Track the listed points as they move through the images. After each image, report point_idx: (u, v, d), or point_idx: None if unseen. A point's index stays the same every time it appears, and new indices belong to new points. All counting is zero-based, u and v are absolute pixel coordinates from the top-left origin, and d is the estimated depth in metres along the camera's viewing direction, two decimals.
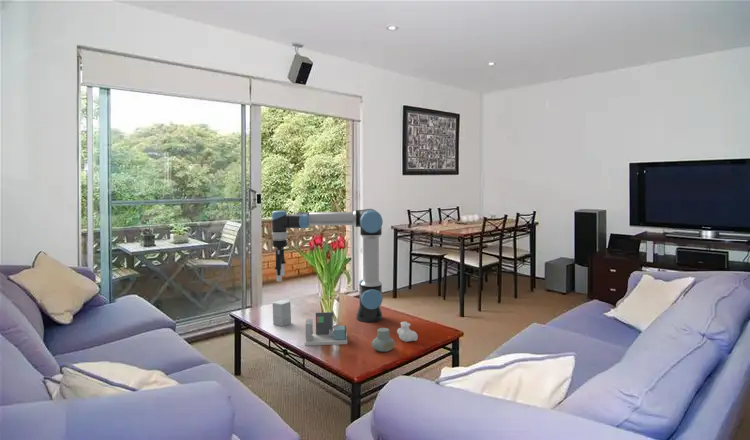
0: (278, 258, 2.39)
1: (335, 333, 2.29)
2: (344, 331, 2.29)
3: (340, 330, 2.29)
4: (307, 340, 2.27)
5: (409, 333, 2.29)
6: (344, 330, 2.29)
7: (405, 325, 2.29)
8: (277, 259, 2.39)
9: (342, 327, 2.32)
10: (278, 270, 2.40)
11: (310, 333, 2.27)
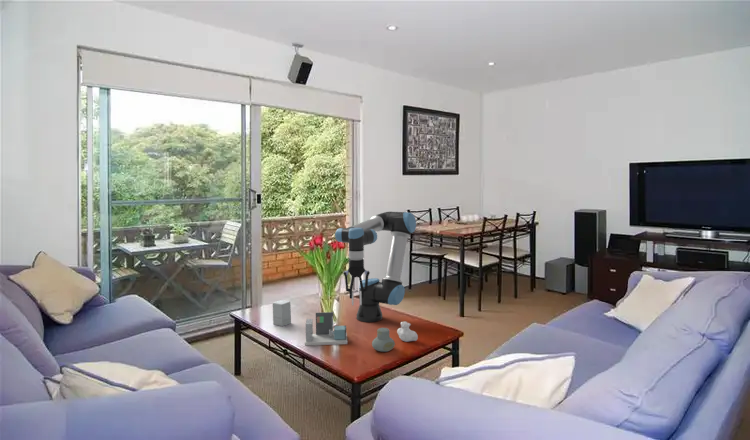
0: (345, 280, 2.30)
1: (335, 333, 2.29)
2: (344, 331, 2.29)
3: (340, 330, 2.29)
4: (307, 340, 2.27)
5: (409, 333, 2.29)
6: (344, 330, 2.29)
7: (405, 325, 2.29)
8: (345, 281, 2.30)
9: (342, 327, 2.32)
10: None
11: (310, 333, 2.27)
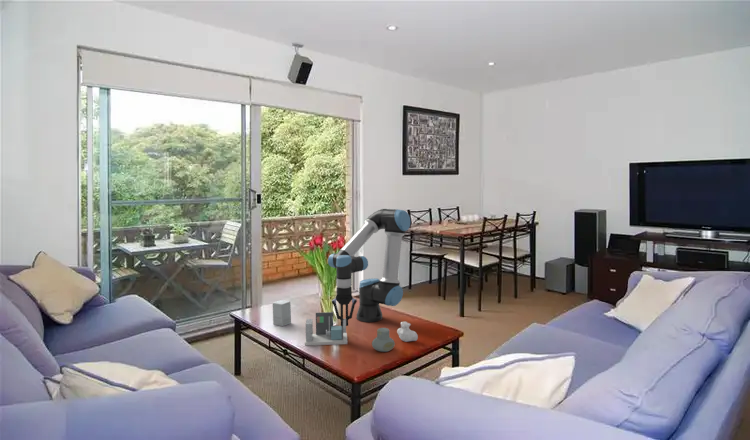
0: None
1: (332, 333, 2.29)
2: (341, 331, 2.29)
3: (337, 330, 2.29)
4: (307, 340, 2.27)
5: (409, 333, 2.29)
6: (341, 330, 2.29)
7: (405, 325, 2.29)
8: (335, 309, 2.31)
9: (339, 327, 2.32)
10: None
11: (310, 333, 2.27)
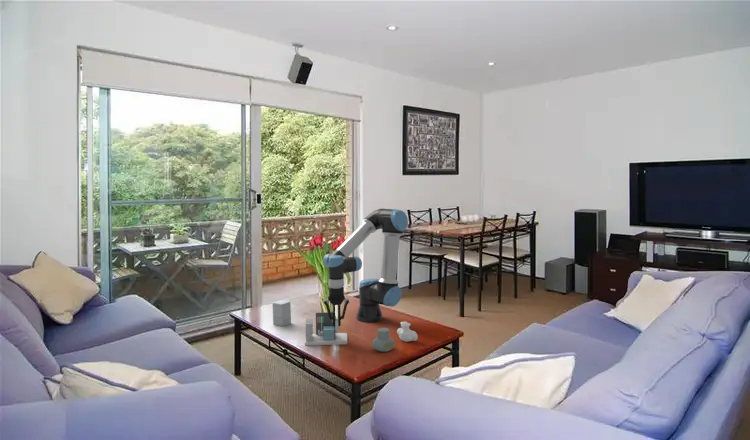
0: (327, 309, 2.30)
1: (324, 333, 2.28)
2: (333, 331, 2.29)
3: (329, 330, 2.29)
4: (307, 340, 2.27)
5: (409, 333, 2.29)
6: (333, 330, 2.29)
7: (405, 325, 2.29)
8: (327, 309, 2.31)
9: (331, 327, 2.32)
10: None
11: (310, 333, 2.27)
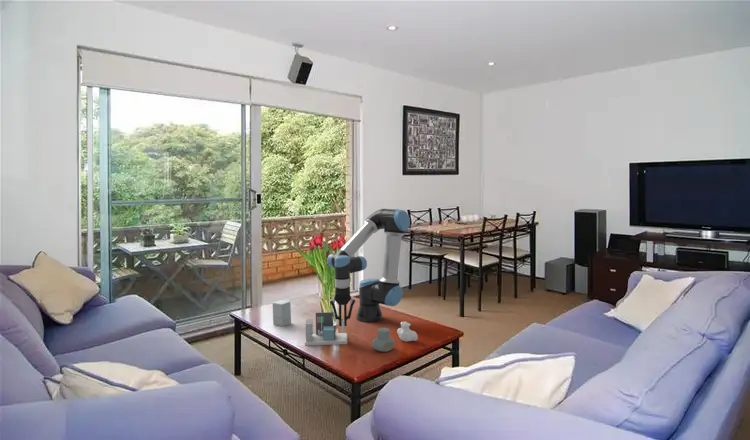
0: (333, 309, 2.31)
1: (324, 333, 2.28)
2: (333, 331, 2.29)
3: (329, 330, 2.29)
4: (307, 340, 2.27)
5: (409, 333, 2.29)
6: (333, 330, 2.29)
7: (405, 325, 2.29)
8: None
9: (331, 327, 2.32)
10: (339, 320, 2.32)
11: (310, 333, 2.27)
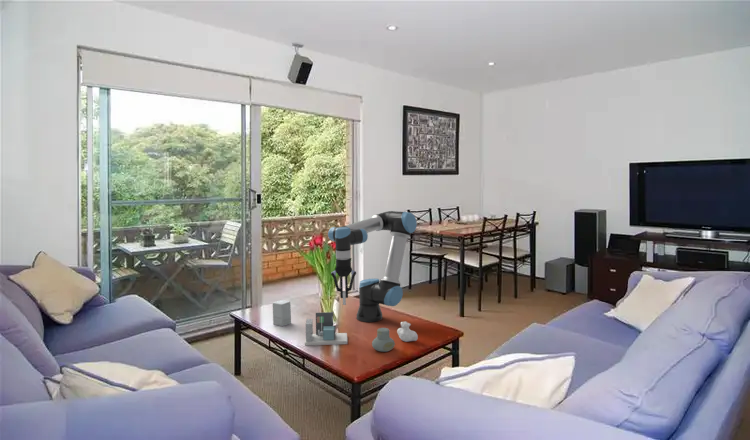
0: (334, 281, 2.30)
1: (324, 333, 2.28)
2: (333, 331, 2.29)
3: (329, 330, 2.29)
4: (307, 340, 2.27)
5: (409, 333, 2.29)
6: (333, 330, 2.29)
7: (405, 325, 2.29)
8: (334, 281, 2.31)
9: (331, 327, 2.32)
10: (340, 292, 2.31)
11: (310, 333, 2.27)
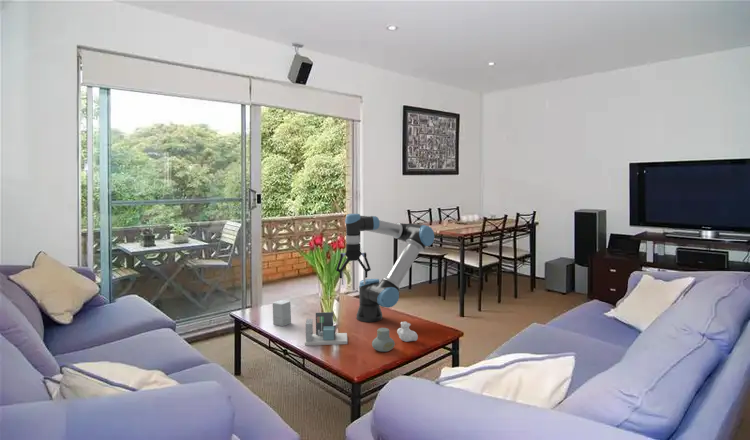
0: (339, 261, 2.42)
1: (324, 333, 2.28)
2: (333, 331, 2.29)
3: (329, 330, 2.29)
4: (307, 340, 2.27)
5: (409, 333, 2.29)
6: (333, 330, 2.29)
7: (405, 325, 2.29)
8: None
9: (331, 327, 2.32)
10: None
11: (310, 333, 2.27)
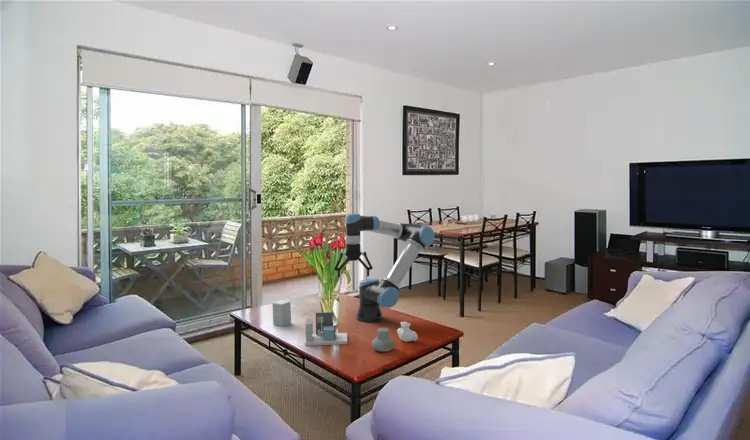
0: (338, 260, 2.41)
1: (324, 333, 2.28)
2: (333, 331, 2.29)
3: (329, 330, 2.29)
4: (307, 340, 2.27)
5: (409, 333, 2.29)
6: (333, 330, 2.29)
7: (405, 325, 2.29)
8: None
9: (331, 327, 2.32)
10: None
11: (310, 333, 2.27)
